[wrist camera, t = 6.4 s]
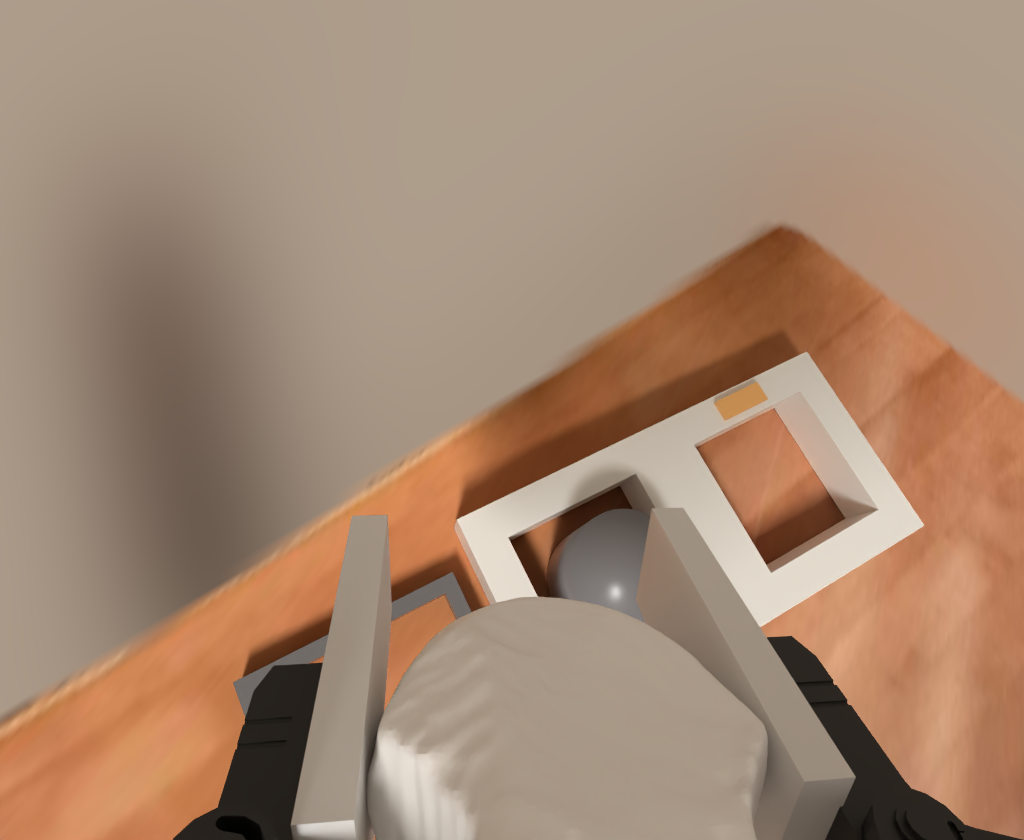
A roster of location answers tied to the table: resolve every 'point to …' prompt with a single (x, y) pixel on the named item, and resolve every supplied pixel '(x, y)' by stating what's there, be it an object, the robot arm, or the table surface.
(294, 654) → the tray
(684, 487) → the block
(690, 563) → the robot arm
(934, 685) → the table surface
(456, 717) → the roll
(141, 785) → the table surface
